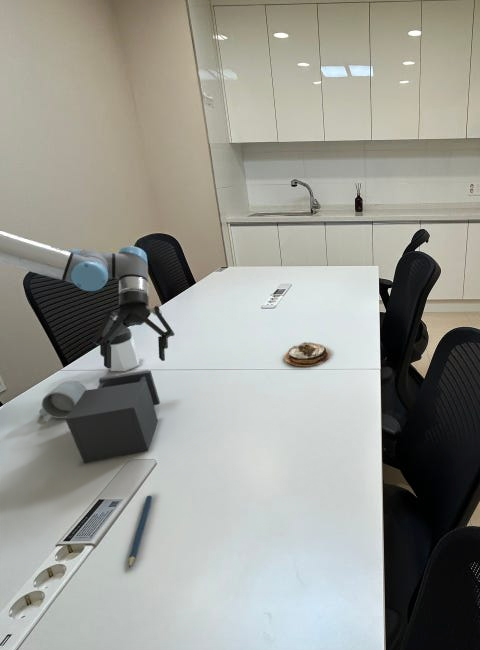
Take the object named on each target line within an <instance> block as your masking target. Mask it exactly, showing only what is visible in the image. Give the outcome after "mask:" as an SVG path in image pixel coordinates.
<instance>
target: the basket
mask: <svg viewBox="0 0 480 650" xmlns="http://www.w3.org/2000/svg"><path fill="white" fill-rule="evenodd" d="M142 381H146V383H147V387H148V390H149V393H150V396H151V400H152V403H153V406H154V407H155V406H159V405H160V404H161V401H160V397H159V394H158V391H157V387H156V385H155V380H154V377H153V374H152V371H151V369H150V370H149V369H143V370H137V371H136V370H135V371H129V372H123V373H119V374H118V375H111V376H104V377H103V376H102V377H100V378H99V379H98V382H99V383H98V384H99V385H98V386H97V388H104V387H110V386H117V385H123V384H129V383H136V382H142Z"/></svg>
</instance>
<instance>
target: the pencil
mask: <svg viewBox="0 0 480 650" xmlns="http://www.w3.org/2000/svg"><path fill="white" fill-rule="evenodd" d="M152 498H153V496H152V495H147V496H146V498H145V502H144V504H143V509H142V512H141V516H140V519H139V522H138V526H137V529H136V532H135V536H134V539H133V543H132V546H131V550H130V554H129V557H128V568H129V569H130V568H131V566H132V565H133V563H134V561H135V559H136V557H137V553H138V549H139V546H140V542H141V539H142V536H143V531H144V527H145V525H146V522H147V521H146V520H147V517H148V513H149V509H150V506H151V502H152Z"/></svg>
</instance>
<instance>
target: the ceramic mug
mask: <svg viewBox="0 0 480 650" xmlns="http://www.w3.org/2000/svg"><path fill="white" fill-rule="evenodd" d="M85 390H88V389H87V387H86V386H85V385H84V384H83V383H82V382H80V381H77V380H67V381H63V382H62V383H60V384H59V385H57V386H56V387H55V388H54V389H52V390H51V391H50V392H48V393H47V394H45V396H44V397H43V398H42V400H41V408H40V409H39V410H38V413H39V414H40V415H41V416H47V415H48V416H50V417H52V418H56V419H66V417H67V416H68V415H69V413H70V412H71V410H72V409H73V407H74V406H75V405H76V403H77V402H78V400H79V399H80V397H81V396H82V395H83V393H84V392H85Z"/></svg>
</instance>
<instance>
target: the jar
mask: <svg viewBox="0 0 480 650" xmlns="http://www.w3.org/2000/svg"><path fill="white" fill-rule="evenodd" d="M111 329H112V328H110V329H109V331H110V330H111ZM109 331H108V332H109ZM109 345H110V346H111V368H109V369H110V371H111V372H126V371H129V370H131V369H134V368H136V367H139V365H140V360H141V359H140V356H139V352H138V349H137V346H136V343H135V340H134V336H133V335H132V331H131V328H129V327H126V328H125V329H123V330H122V331H121V332H120V333H119V334H118V335H117V336H116V337H115V338H114V339H113V341H112V342H111V343H110V344H109Z"/></svg>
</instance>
